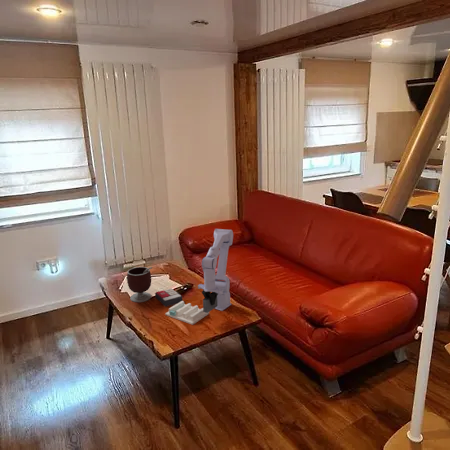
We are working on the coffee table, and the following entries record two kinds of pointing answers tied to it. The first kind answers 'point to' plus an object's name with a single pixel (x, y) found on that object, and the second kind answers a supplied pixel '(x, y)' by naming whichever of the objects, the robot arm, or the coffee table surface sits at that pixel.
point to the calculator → (168, 297)
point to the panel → (208, 304)
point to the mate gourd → (139, 283)
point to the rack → (186, 313)
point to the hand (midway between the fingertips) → (210, 303)
